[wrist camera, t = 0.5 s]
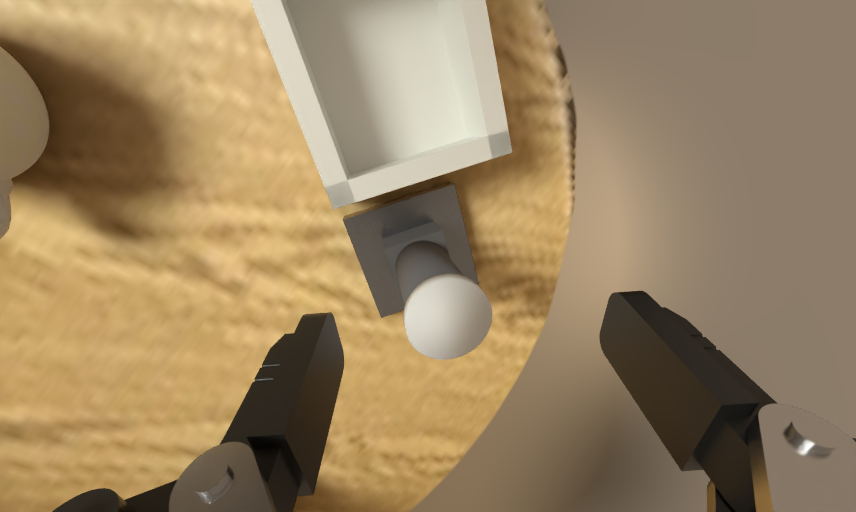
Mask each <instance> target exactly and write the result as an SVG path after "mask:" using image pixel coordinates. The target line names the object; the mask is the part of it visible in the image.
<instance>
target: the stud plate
mask: <svg viewBox="0 0 856 512" xmlns="http://www.w3.org/2000/svg"><path fill="white" fill-rule="evenodd" d="M343 221H344V224H345V226H346V229H347V232H348V234H349V237H350V239H351V242H352V244H353V247H354V249H355V252H356V255H357V257H358V260H359V262H360V265H361V267H362V270H363V272H364V275H365V278H366V280H367V283H368V285H369V288H370V290H371V293H372V295H373V298H374V300H375V303H376V306H377V308H378V311H379V313H380V316H381V318H383V317H385V316H388V315H391V314H394V313H397V312H400V311H402V310H404V308H405V304H404V301H403V299H402V296H401V293H400V291H399V288H398V285H397V282H396V279H395V277H394V274H393V271H392V268H391V265H390V262H389V260H388V257H387V254H386V251H385V248H384V243H383V239H382V238H385V237H388V236H391V235H394V234H397V233H400V232H403V231H406V230H409V229H412V228H415V227H418V226H421V225H424V224H427V223H430V222H435V223H436V224H437V225H438V226H439V227H440V228H441V229H442V231H443V235H444V238H445V242H446V245H447V249H448V253H449V256H450V259H451V260H452V261H453V263H454V264H455V265H456V266H457V268H458V269H459V270H460V271H461V273H462V274H463V275H464V276H465V277H467V278H469V279H471V280H472V281H474V282H475V283H476V284H479V282H478V278H477V274H476V270H475V266H474V262H473V258H472V254H471V250H470V246H469V242H468V238H467V234H466V230H465V225H464V221H463V217H462V213H461V209H460V205H459V201H458V197H457V193H456V189H455V185H454V184H453V183H450V182H449V183H446V184H443V185H440V186H437V187H434V188H431V189H428V190H424V191H421V192H418V193H415V194H412V195H409V196H406V197H403V198H400V199H396V200H393V201H390V202H387V203H384V204H381V205H378V206H375V207H372V208H368V209H365V210H362V211H359V212H356V213H353V214H350V215H347V216H344V218H343Z"/></svg>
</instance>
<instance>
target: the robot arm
mask: <svg viewBox="0 0 856 512" xmlns="http://www.w3.org/2000/svg"><path fill="white" fill-rule="evenodd" d="M600 344H601V348H602V351H603V353H604V354H605V356H606V358H607V359H608V360H609V362H610V363H611V365H612V367H613V368H614V370H615V371H616V373H617V374H618V376H619V377H620V379H621V380H622V382H623V383H624V385H625V386H626V388H627V389H628V391H629V392H630V394H631V395H632V397H633V398H634V400H635V401H636V403H637V404H638V406H639V407H640V409H641V410H642V412H643V414H644V415H645V417H646V418H647V420H648V421H649V423H650V424H651V425H652V427H653V428H654V430H655V432H656V433H657V435H658V436H659V438H660V439H661V441H662V442H663V444H664V445H665V447H666V448H667V450H668V451H669V453H670V454H671V455H672V457H673V459H674V460H675V462H676V463H677V465H678V466H679V468H680V469H681V471H690V470H704V471H705V472H706V474H707V475H708V477H709V478H710V479H711V480H710V481H709V482H708V485H707V512H856V439H855V438H851V437H850V436H849V435H848V434H847V433H845V432H844V431H842V430H841V429H840V428H839V427H837V426H836V425H834V424H833V423H831V422H829V421H828V420H826V419H824V418H822V417H820V416H818V415H816V414H814V413H812V412H810V411H807V410H805V409H802V408H798V407H795V406H792V405H787V404H778V403H777V402H775V401H774V400H773V399H772V398H771V397H770V396H769V395H768V394H767V393H765V392H764V391H763V390H762V389H761V388H760V387H759V386H758V385H757V384H756V383H755V382H753V381H752V380H751V379H750V378H749V377H748V376H747V375H746V374H745V373H744V372H743V371H742V370H741V369H739V368H738V367H737V366H736V365H735V364H734V363H733V362H732V361H731V360H730V359H729V358H728V357H727V356H725V355H724V354H723V353H722V352H721V351H720V350H716V346H714V344H712V343H711V342H710V341H709V340H708V339H707V338H706V337H703V336H702V334H701V332H699V331H698V330H697V329H696V328H695V327H694V326H693V325H692V324H691V323H690V322H688V321H687V320H686V319H685V318H683V317H681V316H679V315H678V314H676V313H674V312H672V311H671V310H669V309H667V308H665V307H664V308H662V307H661V306H660V305H659V304H658V303H657V302H656V301H655V300H653V299H652V298H651V297H650V296H649V295H648V294H647V293H646V292H644V291H631V292H617V293H613V294H611V296H610V298H609V301H608V304H607V308H606V312H605V315H604V319H603V323H602V327H601V331H600ZM343 369H344V354H343V349H342V345H341V341H340V338H339V334H338V330H337V327H336V323H335V319H334V316H333V314H332V313H317V314H305V315H303V316H302V318H301V320H300V322H299V324H298V326H297V328H296V330H295V333H292V334H285V335H284V336H283V337H282V338H281V339H280V340H279V341H278V342H277V343H275V344H274V345H273V346H272V347H271V348H270V350H269V352H268V354H267V356H266V358H265V360H264V362H263V364H262V368H260V369H259V371H258V373H257V375H256V377H255V382H253V383H252V385H251V387H250V389H249V391H248V392H247V394H246V396H245V398H244V400H243V402H242V404H241V406H240V408H239V410H238V412H237V414H236V415H235V417H234V419H233V421H232V423H231V425H230V427H229V429H228V431H227V433H226V435H225V436H224V438H223V440H222V442H221V443H220V445H218V446H215V447H213V448H211V449H209V450H208V451H206V452H205V453H203V454H202V455H200V456H199V457H198V458H197V459H195V460H194V461H193V462H192V463H191V464H190V465H189V466H188V467H187V468H186V469H185V471H184V472H183V473H182V474H181V476H180V477H179V479H177V480H175V481H173V482H170V483H168V484H165V485H163V486H160V487H157V488H155V489H152V490H149V491H147V492H144V493H142V494H139V495H136V496H134V497H131V498H129V499H126V500H123V499H122V498H121V497H120V496H119V495H118V494H117V493H116V492H114V491H112V490H111V489H106V488H103V489H95V490H91V491H88V492H85V493H82V494H80V495H78V496H76V497H74V498H72V499H70V500H69V501H67V502H65V503H64V504H62V505H61V506H59V507H58V508H56V509H55V510H54V511H52V512H293V509H294V506H295V502H296V499H297V496H304V495H313V494H314V490H315V486H316V482H317V478H318V473H319V469H320V465H321V461H322V457H323V453H324V449H325V445H326V440H327V436H328V432H329V428H330V424H331V420H332V416H333V411H334V407H335V403H336V399H337V395H338V391H339V387H340V382H341V378H342V374H343Z"/></svg>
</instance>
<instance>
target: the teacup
mask: <svg viewBox="0 0 856 512" xmlns="http://www.w3.org/2000/svg"><path fill="white" fill-rule="evenodd" d="M48 136H49V118H48V111H47V108H46V105H45V103H44V100H43V97H42V95H41V93H40V91H39V89H38V88H37V86H36V84H35V83H34V81H33V80H32V78H31V77H30V76H29V74H28V73H27V72H26V71H25V69H24V68H23V67H22V66H21V65H20V64H19V63H18V62H17V61H16V60H15V59H14V58H13V57H12V56H11V55H10V54H9V53H8V52H7V51H5V50H4V49H3V48H2V47H0V239H1V238H2V237H3V236H4V235H5V234H6V232H7V231H8V229H9V226H10V221H11V205H10V197H9V194H10V193H11V191H12V190H13V182H12V180H11V179H12V178H13V177H16V176H18V175H19V174H21V173H23V172H25V171H26V170H27V169H28V168H30V167H31V166H32V165H33V164H34V163H35V162H36V161H37V160H38V159H39V158H40V156H41V154H42V153H43V151H44V149H45V147H46V144H47V141H48Z"/></svg>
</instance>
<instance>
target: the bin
mask: <svg viewBox="0 0 856 512" xmlns="http://www.w3.org/2000/svg"><path fill="white" fill-rule="evenodd" d="M250 1H251V4H252V6H253V9H254V11H255V14H256V16H257V19H258V21H259V24H260V26H261V29H262V31H263V34H264V36H265V39H266V41H267V44H268V46H269V49H270V51H271V54H272V56H273V59H274V61H275V64H276V66H277V69H278V71H279V74H280V76H281V79H282V81H283V84H284V86H285V89H286V91H287V94H288V96H289V99H290V101H291V104H292V106H293V109H294V111H295V114H296V117H297V119H298V122H299V124H300V127H301V129H302V132H303V134H304V137H305V139H306V142H307V144H308V147H309V149H310V152H311V154H312V157H313V159H314V162H315V164H316V167H317V169H318V172H319V174H320V177H321V179H322V182H323V184H324V187H325V189H326V192H327V194H328V197H329V199H330V202H331V204H332V207H333V209H337V208H340V207H343V206H346V205H349V204H352V203H355V202H359V201H362V200H365V199H368V198H371V197H374V196H377V195H381V194H384V193H387V192H390V191H393V190H396V189H399V188H403V187H406V186H409V185H412V184H415V183H418V182H421V181H424V180H428V179H431V178H434V177H437V176H440V175H443V174H446V173H450V172H453V171H456V170H459V169H462V168H465V167H468V166H472V165H475V164H478V163H481V162H484V161H487V160H490V159H493V158H497V157H500V156H503V155H506V154H509V153H512V147H511V141H510V136H509V130H508V124H507V119H506V113H505V108H504V102H503V96H502V91H501V85H500V79H499V74H498V68H497V62H496V57H495V51H494V45H493V40H492V34H491V28H490V23H489V17H488V11H487V6H486V0H250Z"/></svg>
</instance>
